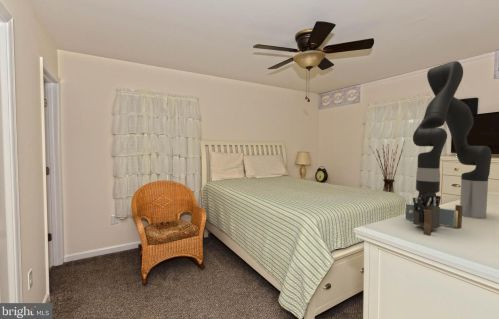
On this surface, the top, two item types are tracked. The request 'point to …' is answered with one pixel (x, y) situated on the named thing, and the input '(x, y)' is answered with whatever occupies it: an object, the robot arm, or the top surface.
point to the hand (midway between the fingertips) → (426, 222)
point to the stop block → (435, 216)
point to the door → (445, 216)
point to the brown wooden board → (429, 219)
